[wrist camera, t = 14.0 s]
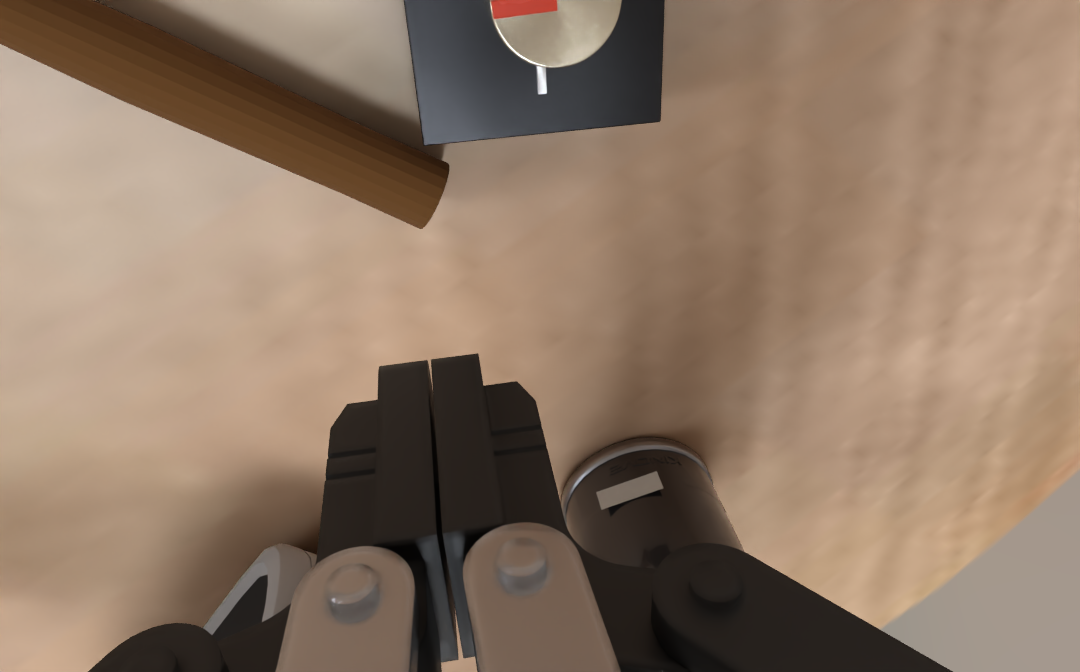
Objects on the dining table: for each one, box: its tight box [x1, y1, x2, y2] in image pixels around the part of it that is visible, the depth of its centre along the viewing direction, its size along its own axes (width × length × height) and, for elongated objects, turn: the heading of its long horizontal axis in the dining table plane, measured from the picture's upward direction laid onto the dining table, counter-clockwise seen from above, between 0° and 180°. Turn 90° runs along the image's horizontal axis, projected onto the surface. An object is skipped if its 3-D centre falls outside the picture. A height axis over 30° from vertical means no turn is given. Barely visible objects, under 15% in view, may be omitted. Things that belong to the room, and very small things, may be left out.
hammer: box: [0, 0, 449, 229], centre depth 30 cm, size 12×3×30 cm
